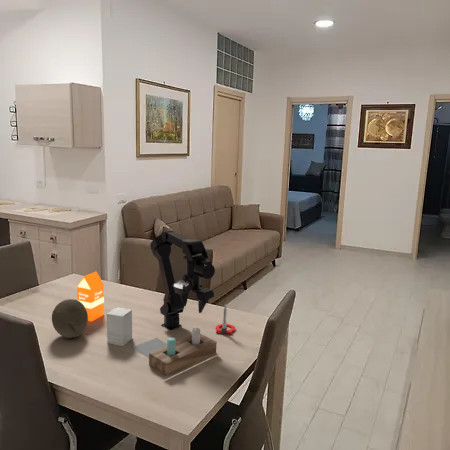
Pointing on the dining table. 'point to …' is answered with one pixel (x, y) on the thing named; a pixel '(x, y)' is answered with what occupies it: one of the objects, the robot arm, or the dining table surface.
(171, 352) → the teal peg
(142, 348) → the mat
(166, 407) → the dining table surface
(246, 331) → the dining table surface
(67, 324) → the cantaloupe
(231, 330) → the tow hook
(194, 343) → the grey peg
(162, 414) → the dining table surface
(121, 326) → the supplement box
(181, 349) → the hole block
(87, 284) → the orange juice
